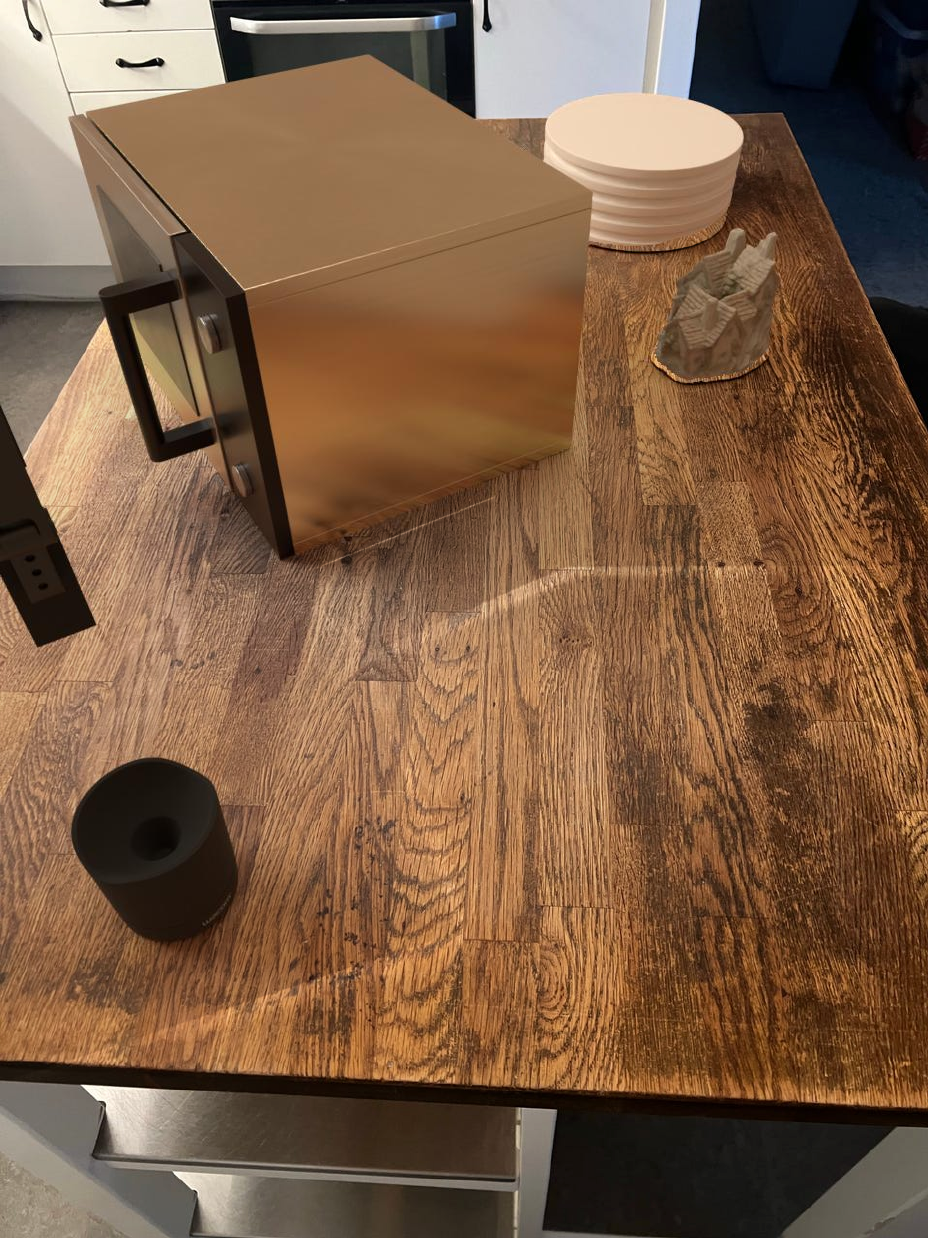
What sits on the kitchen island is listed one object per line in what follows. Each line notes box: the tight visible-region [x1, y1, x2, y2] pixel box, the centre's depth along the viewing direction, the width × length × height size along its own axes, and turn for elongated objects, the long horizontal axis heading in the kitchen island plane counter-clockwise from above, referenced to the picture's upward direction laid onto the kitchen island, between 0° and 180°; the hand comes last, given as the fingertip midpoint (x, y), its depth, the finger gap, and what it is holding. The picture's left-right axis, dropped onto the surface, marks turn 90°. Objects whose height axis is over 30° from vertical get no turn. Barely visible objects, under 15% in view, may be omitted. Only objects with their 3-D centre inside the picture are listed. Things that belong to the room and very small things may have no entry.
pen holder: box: [70, 756, 239, 943], centre depth 67 cm, size 9×9×10 cm
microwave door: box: [68, 113, 235, 492], centre depth 99 cm, size 8×32×28 cm, turn 31°
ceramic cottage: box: [652, 227, 782, 380], centre depth 114 cm, size 16×16×15 cm
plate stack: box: [542, 92, 745, 246], centre depth 141 cm, size 28×28×12 cm
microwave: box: [85, 53, 593, 561], centre depth 102 cm, size 35×44×28 cm
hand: (30, 545), depth 48 cm, fingers open, 13 cm apart
